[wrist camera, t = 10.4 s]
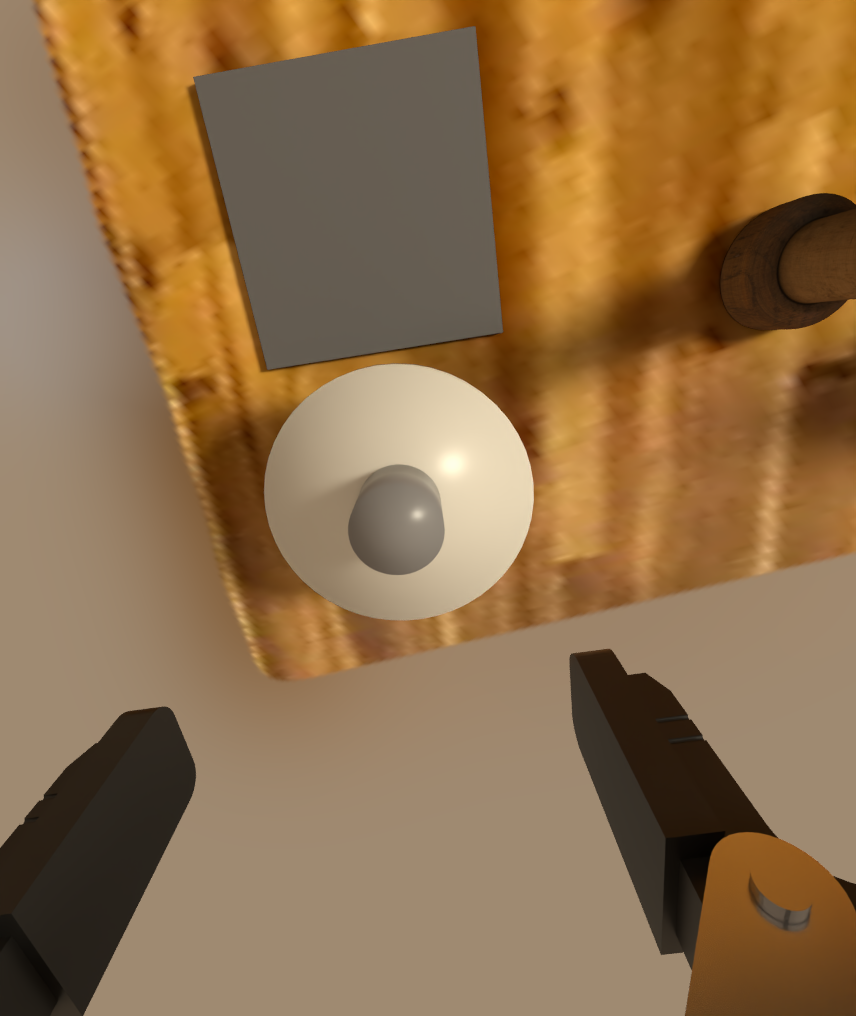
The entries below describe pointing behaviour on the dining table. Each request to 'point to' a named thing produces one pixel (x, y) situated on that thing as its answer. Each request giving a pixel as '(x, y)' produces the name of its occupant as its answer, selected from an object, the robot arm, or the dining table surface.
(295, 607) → the dining table surface
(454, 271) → the mat
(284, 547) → the lid
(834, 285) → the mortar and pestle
